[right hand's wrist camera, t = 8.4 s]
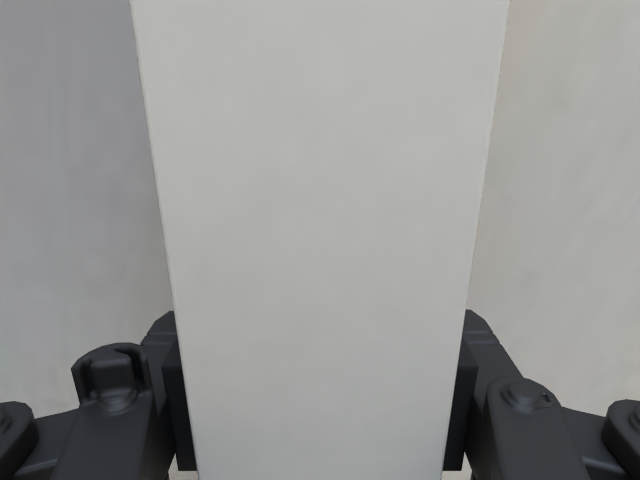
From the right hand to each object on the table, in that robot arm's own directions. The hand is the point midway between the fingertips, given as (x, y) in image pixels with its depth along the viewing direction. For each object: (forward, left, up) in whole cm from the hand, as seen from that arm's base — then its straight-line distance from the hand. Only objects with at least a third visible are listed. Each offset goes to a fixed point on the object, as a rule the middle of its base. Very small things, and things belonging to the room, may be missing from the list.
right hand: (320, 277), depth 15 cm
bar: (+6, +4, -1) cm, 7 cm away
